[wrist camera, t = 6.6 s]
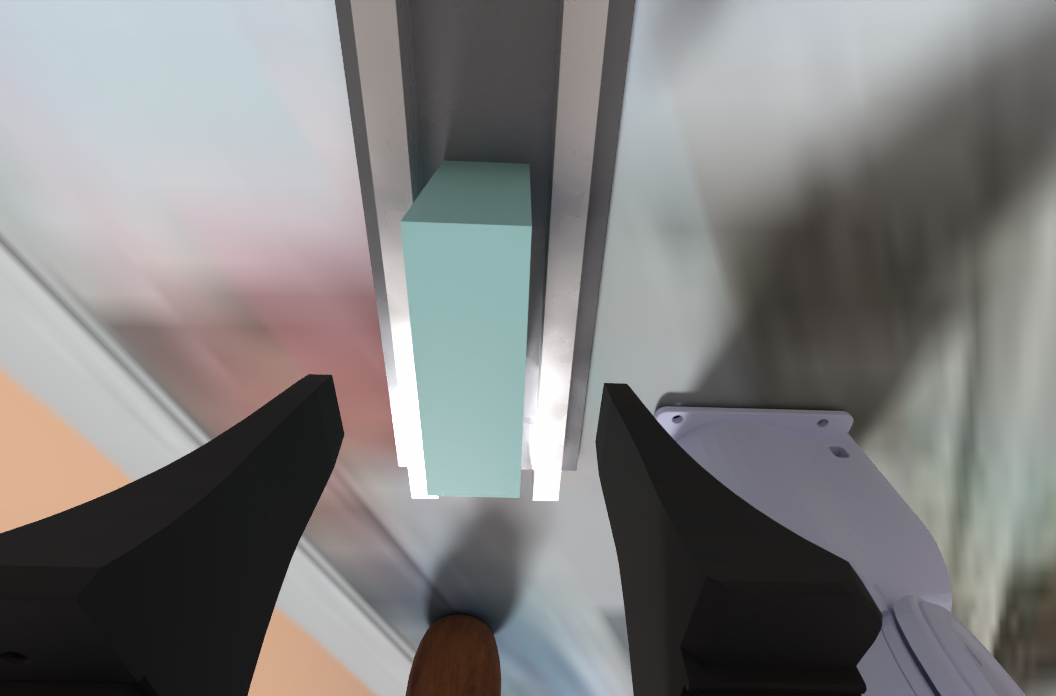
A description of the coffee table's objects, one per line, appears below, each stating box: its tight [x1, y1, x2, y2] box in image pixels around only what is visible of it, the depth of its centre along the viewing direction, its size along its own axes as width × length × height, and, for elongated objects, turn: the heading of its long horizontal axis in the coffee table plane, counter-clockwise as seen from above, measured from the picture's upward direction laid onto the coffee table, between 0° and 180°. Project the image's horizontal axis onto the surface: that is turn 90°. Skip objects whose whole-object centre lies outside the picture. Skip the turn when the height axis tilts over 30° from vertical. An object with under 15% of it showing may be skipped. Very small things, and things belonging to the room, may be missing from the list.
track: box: [335, 0, 635, 501], centre depth 19 cm, size 9×22×3 cm, turn 178°
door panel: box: [400, 160, 532, 498], centre depth 17 cm, size 3×9×7 cm, turn 178°
